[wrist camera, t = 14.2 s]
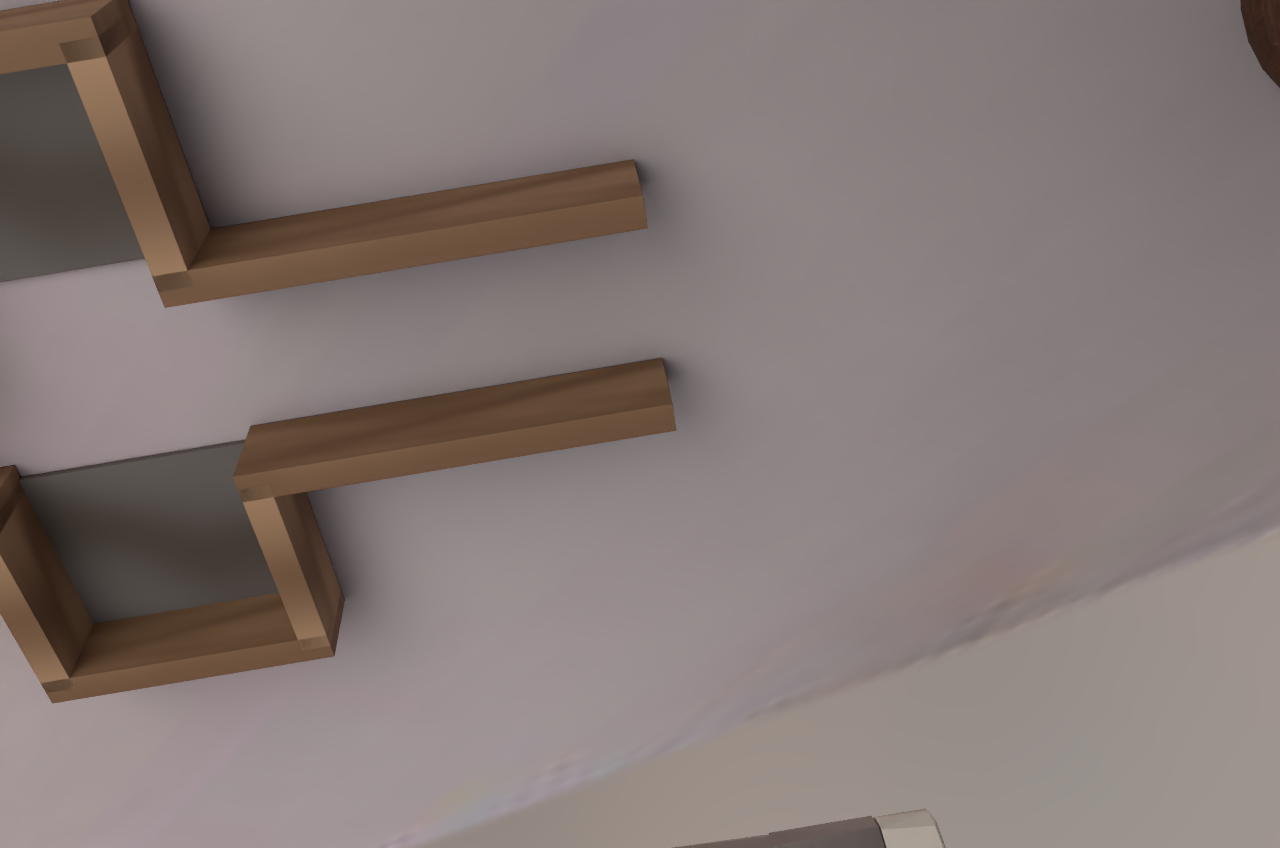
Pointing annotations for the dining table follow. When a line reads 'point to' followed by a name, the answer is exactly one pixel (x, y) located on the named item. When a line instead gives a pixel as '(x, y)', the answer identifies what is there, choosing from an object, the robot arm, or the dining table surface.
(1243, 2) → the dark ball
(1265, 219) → the dining table surface
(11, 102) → the wooden compartment box
